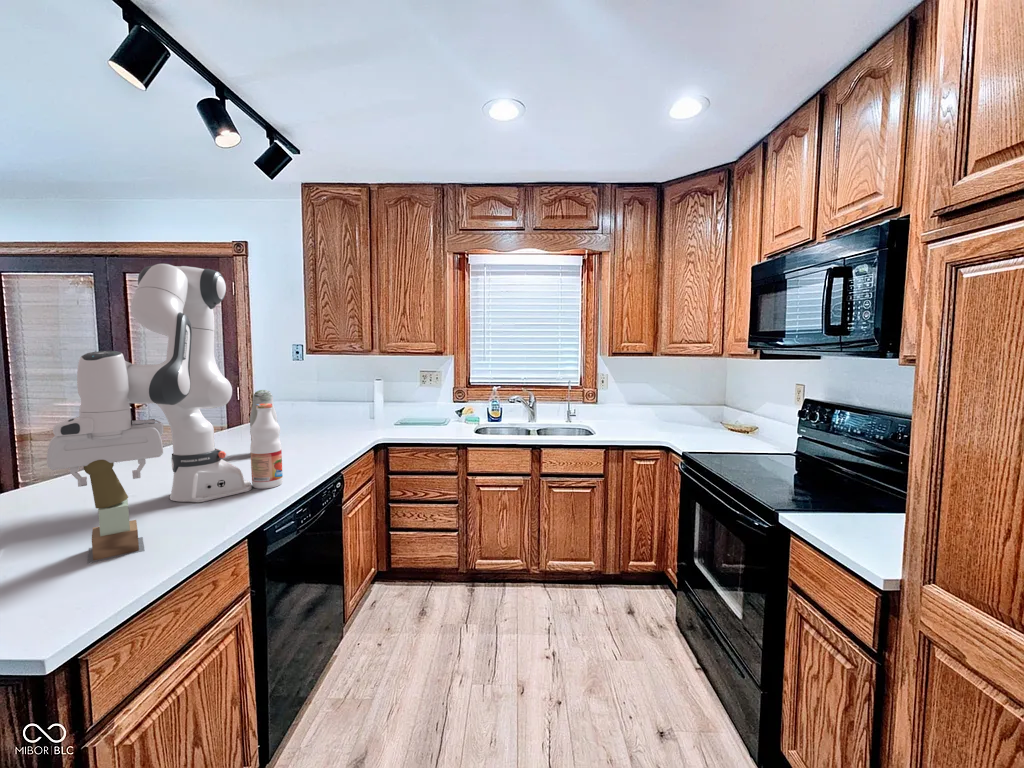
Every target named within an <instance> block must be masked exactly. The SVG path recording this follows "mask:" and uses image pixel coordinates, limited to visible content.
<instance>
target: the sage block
mask: <svg viewBox="0 0 1024 768" xmlns="http://www.w3.org/2000/svg"><path fill="white" fill-rule="evenodd" d="M128 502H129V500H128V498H127V499H126V500H124V501H123V502H121V503H118V504H116V505H113V506H109V507H106V508H97V511H98V525H99V526H98V527H100V536H105V535H110V534H115V533H120V532H125V531H130V523H129V521H130V513H129V512H130V511H129V503H128Z"/></svg>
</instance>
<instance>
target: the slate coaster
mask: <svg viewBox="0 0 1024 768" xmlns="http://www.w3.org/2000/svg"><path fill="white" fill-rule="evenodd" d="M138 543H139V551H135V552H130V553H126V554H121V555H117V556H112V557H108V558H103V559H99V560H94V561H93V550H92V547H88V553H87V559H86V560H87V561H86V564H87V565H88V564H92V563H97V562H101V561H106V560H110V559H114V558H119V557H120V558H121V557H123V556H128V555H133V554H137V553H141V552H145V545H144V538H143V537H142V536H141V537H138Z"/></svg>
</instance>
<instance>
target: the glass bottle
mask: <svg viewBox="0 0 1024 768" xmlns="http://www.w3.org/2000/svg"><path fill="white" fill-rule="evenodd" d="M273 397H274V396H273V394H272V392H271V391H270V390H266V389H259V390H257V391H255V392H254V394H253V397H252V406H251V411H250V415H249V426H250V427H249V429H250V428H251V426H252V425H253V423H254V422H255V420H256V417H257V410H256V405H257V404H265V403H269V404H272V410H271V411H272V415H273V418H274V420H275V421H276V422H277V423H278V415H277V411H276V408H275V404H274V398H273ZM251 442H252V437H251V436H250V443H251Z"/></svg>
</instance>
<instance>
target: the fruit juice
mask: <svg viewBox="0 0 1024 768" xmlns="http://www.w3.org/2000/svg"><path fill="white" fill-rule="evenodd" d="M256 410H257V417H256V420H255V422H254V423H253V425H252V426H251V428H250V427H249V430H250V431H249V433H250V434H249V435H250V438H251V437H252V442H251V441H250V451H249V452H250V469H251V485H252V488H254V489H263V490H264V489H272V488H276V487H279V486H281V485H282V484H283V478H284V477H283V460H282V459H283V455H282V441H281V439H280V434H281V426H280V424H279V423H278V421H277V422H276V421H275V420H274V418H273V415H272V411H271V410H272V404H269V403H265V404H257V405H256Z"/></svg>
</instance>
